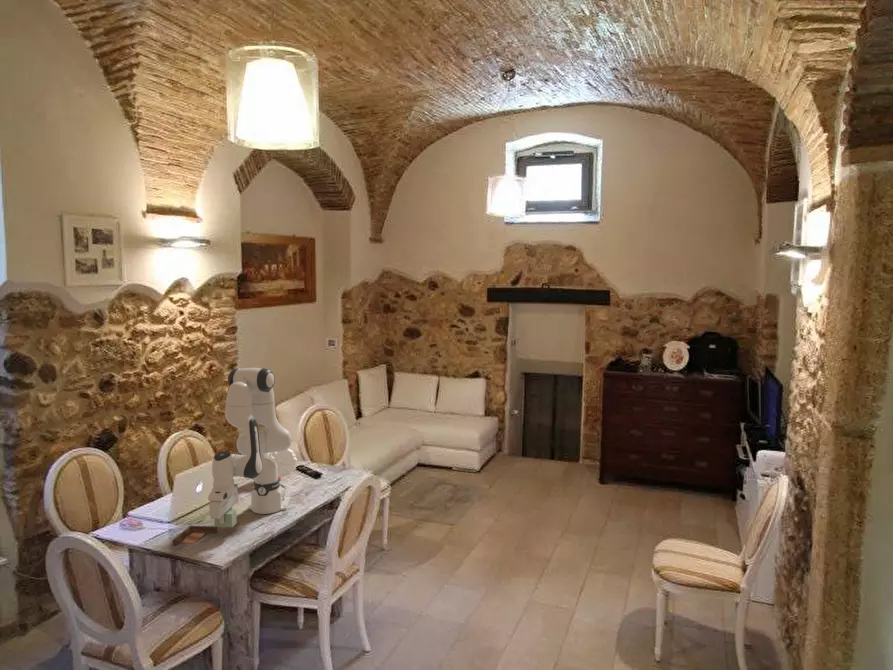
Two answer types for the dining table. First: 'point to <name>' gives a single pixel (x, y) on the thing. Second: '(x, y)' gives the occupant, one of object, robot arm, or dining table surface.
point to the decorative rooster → (283, 461)
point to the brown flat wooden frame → (193, 534)
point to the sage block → (227, 519)
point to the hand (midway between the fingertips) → (225, 520)
